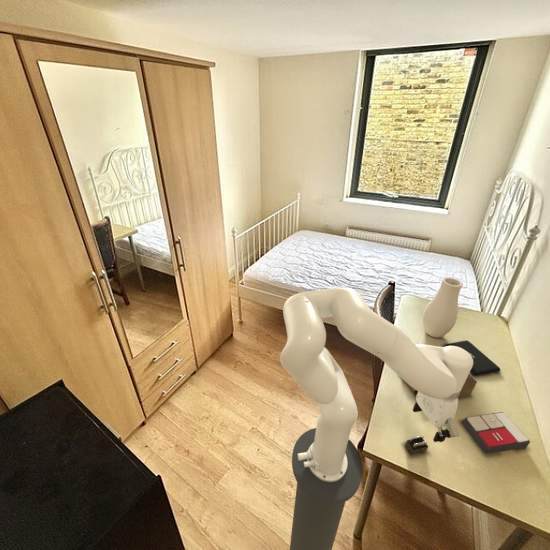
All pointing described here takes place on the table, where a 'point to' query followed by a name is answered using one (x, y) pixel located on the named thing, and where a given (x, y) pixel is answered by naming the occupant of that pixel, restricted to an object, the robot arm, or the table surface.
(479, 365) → the laptop
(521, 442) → the red grey flat block
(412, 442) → the clip
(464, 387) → the wooden stair steps
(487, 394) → the table surface
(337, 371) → the robot arm
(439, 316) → the vase
